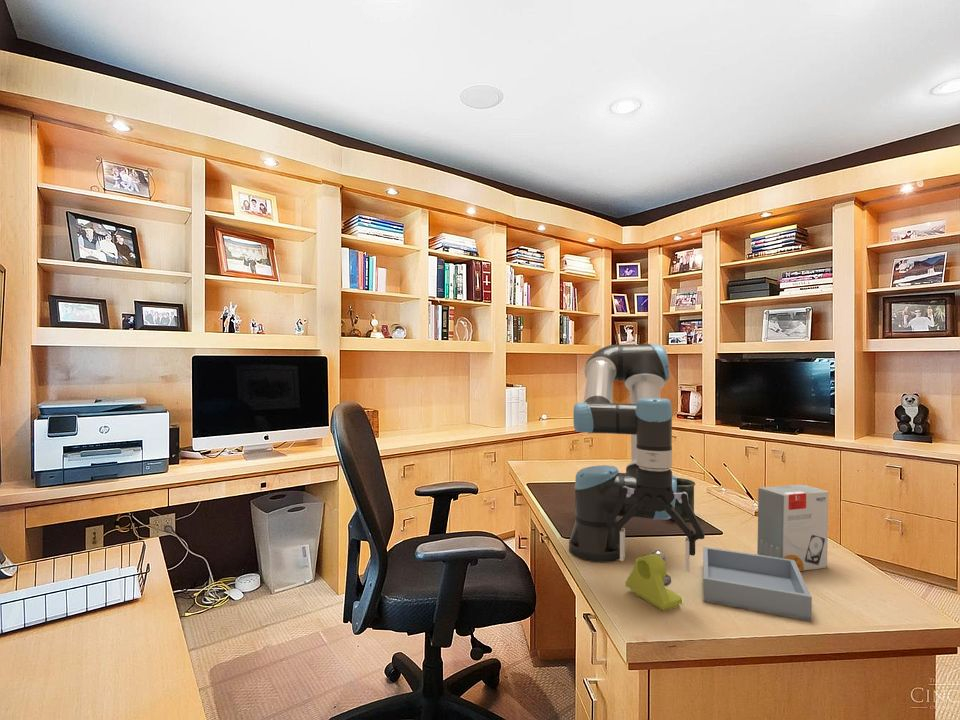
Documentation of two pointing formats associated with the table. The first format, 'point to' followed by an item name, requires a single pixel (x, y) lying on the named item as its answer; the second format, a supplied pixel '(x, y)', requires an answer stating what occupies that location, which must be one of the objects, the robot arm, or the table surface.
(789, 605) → the bin
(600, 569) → the table surface
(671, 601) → the bracket
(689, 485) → the mug
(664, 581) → the ball stud
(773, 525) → the hard drive box
